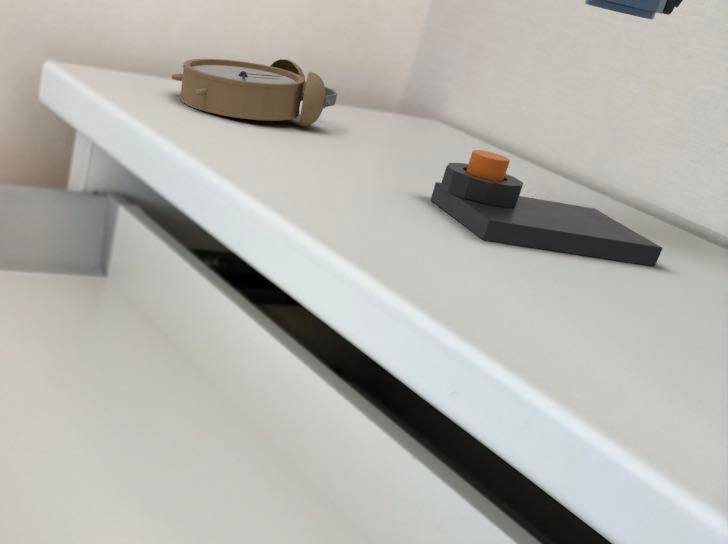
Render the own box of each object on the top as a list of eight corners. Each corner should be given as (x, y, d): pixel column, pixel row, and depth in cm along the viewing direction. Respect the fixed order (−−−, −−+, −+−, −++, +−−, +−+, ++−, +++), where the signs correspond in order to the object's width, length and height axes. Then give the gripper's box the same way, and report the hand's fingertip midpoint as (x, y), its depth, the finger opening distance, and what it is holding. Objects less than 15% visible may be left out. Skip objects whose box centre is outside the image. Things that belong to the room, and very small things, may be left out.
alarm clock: (165, 55, 103) (313, 50, 107) (164, 110, 106) (309, 103, 109) (202, 79, 94) (361, 73, 98) (200, 139, 97) (355, 130, 101)
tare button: (492, 177, 83) (500, 153, 82) (508, 186, 81) (516, 162, 80) (459, 171, 82) (466, 147, 81) (474, 181, 80) (482, 156, 79)
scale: (586, 224, 88) (600, 186, 87) (655, 266, 80) (672, 225, 78) (424, 198, 84) (436, 158, 83) (478, 239, 76) (493, 196, 74)
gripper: (657, -305, 68) (559, -10, 77) (846, -246, 72) (732, 30, 80) (599, -293, 75) (514, -21, 83) (776, -239, 78) (677, 16, 87)
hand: (622, 3), depth 82 cm, fingers closed on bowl, 6 cm apart
